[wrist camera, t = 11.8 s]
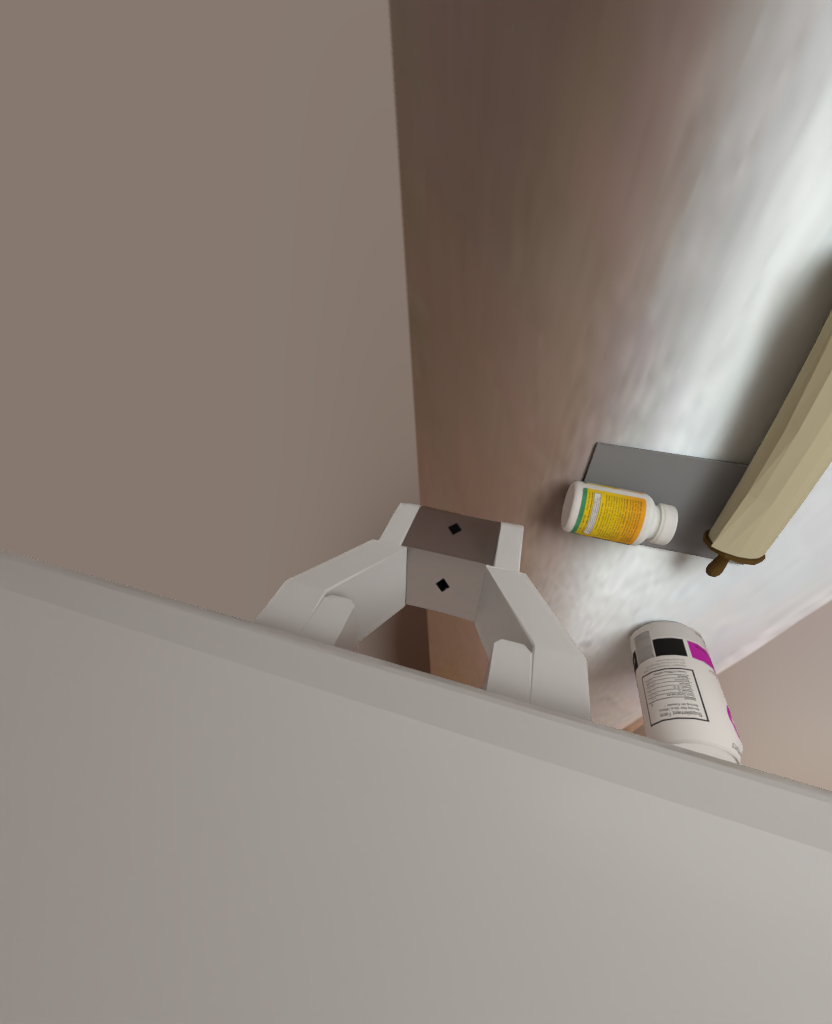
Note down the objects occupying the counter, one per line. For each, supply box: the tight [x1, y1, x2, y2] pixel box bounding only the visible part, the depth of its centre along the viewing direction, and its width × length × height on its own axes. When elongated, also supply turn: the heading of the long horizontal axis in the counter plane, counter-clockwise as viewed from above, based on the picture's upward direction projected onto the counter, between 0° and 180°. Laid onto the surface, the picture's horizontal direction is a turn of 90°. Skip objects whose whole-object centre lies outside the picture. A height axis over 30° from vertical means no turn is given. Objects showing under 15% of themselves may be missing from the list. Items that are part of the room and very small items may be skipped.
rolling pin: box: [703, 310, 832, 577], centre depth 30 cm, size 32×6×5 cm, turn 0°
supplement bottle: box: [561, 481, 678, 545], centre depth 39 cm, size 5×5×10 cm
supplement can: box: [630, 621, 743, 765], centre depth 44 cm, size 8×8×15 cm
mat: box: [583, 442, 749, 565], centre depth 39 cm, size 11×18×1 cm, turn 88°
